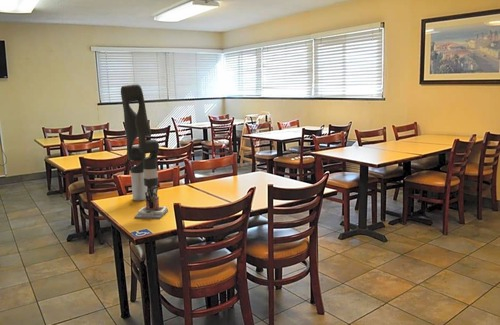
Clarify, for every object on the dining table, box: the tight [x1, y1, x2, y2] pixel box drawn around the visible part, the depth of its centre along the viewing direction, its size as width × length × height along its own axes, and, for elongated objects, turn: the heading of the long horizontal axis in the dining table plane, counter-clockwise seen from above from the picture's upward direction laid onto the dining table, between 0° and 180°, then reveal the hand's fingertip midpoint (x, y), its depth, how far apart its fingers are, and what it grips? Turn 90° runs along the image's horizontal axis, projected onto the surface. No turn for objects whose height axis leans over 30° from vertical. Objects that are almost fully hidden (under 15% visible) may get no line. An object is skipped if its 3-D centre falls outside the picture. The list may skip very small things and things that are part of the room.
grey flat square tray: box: [134, 205, 169, 220], centre depth 231 cm, size 14×14×3 cm
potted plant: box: [145, 192, 160, 211], centre depth 233 cm, size 8×3×10 cm, turn 71°
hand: (152, 206), depth 233 cm, fingers closed on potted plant, 3 cm apart
